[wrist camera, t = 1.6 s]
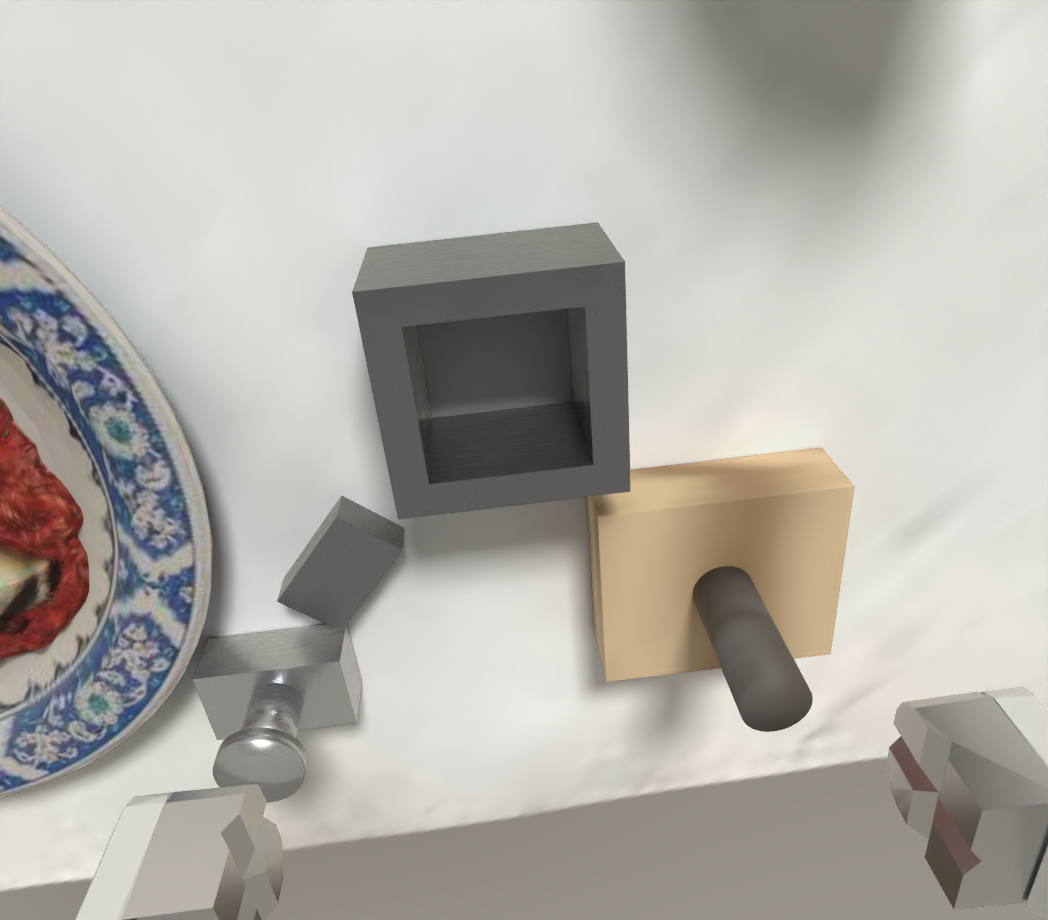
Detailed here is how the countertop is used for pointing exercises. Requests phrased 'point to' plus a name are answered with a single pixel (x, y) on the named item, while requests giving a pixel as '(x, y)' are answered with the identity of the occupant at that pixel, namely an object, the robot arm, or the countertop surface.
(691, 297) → the countertop surface
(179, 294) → the countertop surface
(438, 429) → the grey square ring
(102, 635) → the ceramic plate
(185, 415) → the countertop surface
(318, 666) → the silver knob on block
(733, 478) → the keeper
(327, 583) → the gray rectangular block
